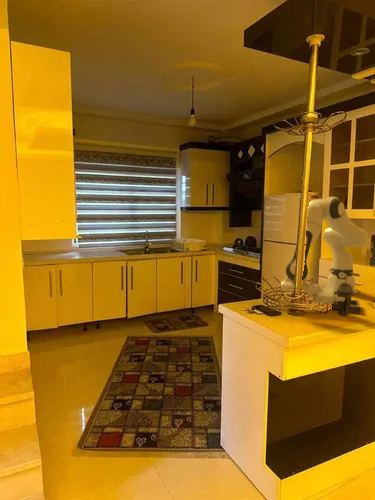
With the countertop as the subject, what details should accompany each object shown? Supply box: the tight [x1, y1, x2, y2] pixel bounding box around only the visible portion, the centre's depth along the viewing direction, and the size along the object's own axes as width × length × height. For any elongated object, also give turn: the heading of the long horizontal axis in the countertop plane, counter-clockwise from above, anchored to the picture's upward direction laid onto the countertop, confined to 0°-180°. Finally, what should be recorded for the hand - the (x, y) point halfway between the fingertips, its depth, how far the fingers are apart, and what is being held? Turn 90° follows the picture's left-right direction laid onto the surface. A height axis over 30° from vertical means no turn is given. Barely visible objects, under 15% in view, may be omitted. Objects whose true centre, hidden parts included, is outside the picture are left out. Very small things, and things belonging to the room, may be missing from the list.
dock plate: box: [331, 299, 362, 315], centre depth 179 cm, size 14×14×3 cm
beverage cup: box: [336, 274, 354, 317], centre depth 168 cm, size 7×7×20 cm
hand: (344, 296), depth 168 cm, fingers open, 8 cm apart
